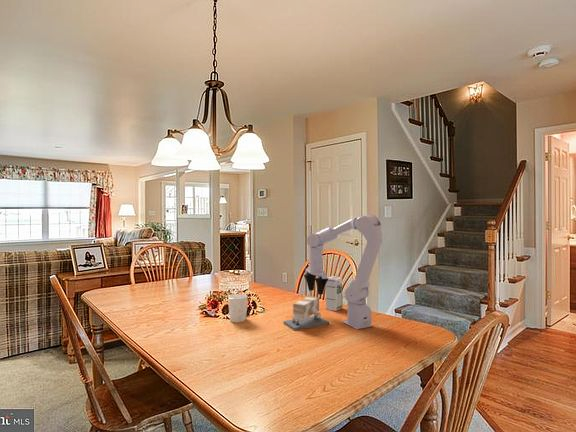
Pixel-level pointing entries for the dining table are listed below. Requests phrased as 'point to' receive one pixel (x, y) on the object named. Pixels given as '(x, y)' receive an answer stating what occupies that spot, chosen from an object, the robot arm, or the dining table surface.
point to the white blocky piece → (305, 307)
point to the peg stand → (306, 322)
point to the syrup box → (334, 293)
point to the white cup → (237, 307)
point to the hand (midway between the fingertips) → (315, 292)
